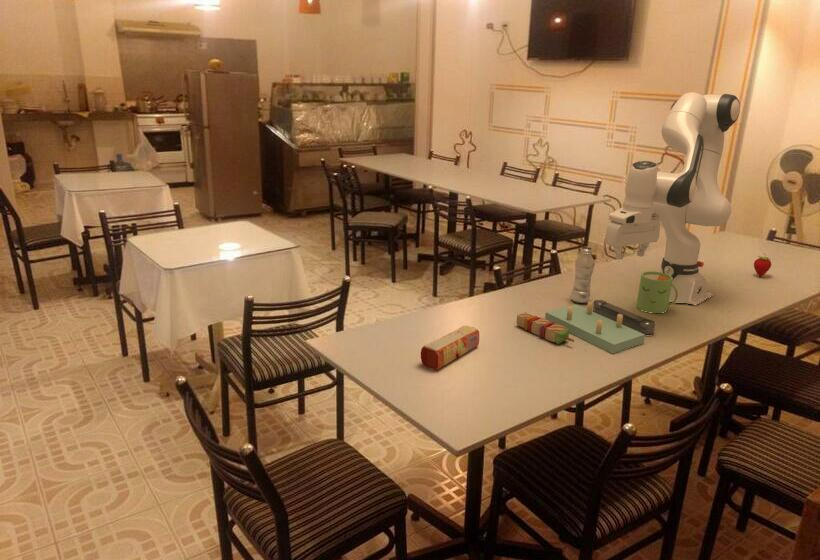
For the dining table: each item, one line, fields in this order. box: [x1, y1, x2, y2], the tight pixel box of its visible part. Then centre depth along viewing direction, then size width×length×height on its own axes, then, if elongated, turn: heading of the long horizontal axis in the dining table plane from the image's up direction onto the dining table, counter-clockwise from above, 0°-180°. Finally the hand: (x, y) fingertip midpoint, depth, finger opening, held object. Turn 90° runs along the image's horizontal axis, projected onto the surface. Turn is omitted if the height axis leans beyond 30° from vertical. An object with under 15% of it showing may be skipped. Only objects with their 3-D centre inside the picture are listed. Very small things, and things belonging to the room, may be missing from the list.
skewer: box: [516, 312, 575, 345], centre depth 188 cm, size 21×6×5 cm, turn 39°
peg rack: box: [544, 300, 646, 355], centre depth 191 cm, size 14×28×7 cm, turn 32°
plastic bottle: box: [570, 246, 596, 304], centre depth 213 cm, size 6×7×20 cm
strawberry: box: [753, 253, 772, 277], centre depth 245 cm, size 6×8×10 cm
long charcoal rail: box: [592, 299, 656, 336], centre depth 199 cm, size 4×23×4 cm, turn 32°
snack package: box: [420, 325, 480, 371], centre depth 174 cm, size 21×7×7 cm, turn 140°
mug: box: [635, 270, 678, 313], centre depth 210 cm, size 13×10×12 cm
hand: (629, 257), depth 193 cm, fingers open, 8 cm apart
